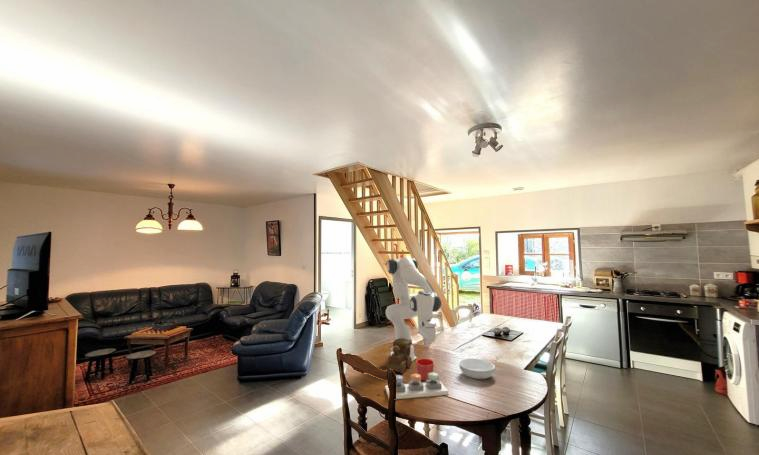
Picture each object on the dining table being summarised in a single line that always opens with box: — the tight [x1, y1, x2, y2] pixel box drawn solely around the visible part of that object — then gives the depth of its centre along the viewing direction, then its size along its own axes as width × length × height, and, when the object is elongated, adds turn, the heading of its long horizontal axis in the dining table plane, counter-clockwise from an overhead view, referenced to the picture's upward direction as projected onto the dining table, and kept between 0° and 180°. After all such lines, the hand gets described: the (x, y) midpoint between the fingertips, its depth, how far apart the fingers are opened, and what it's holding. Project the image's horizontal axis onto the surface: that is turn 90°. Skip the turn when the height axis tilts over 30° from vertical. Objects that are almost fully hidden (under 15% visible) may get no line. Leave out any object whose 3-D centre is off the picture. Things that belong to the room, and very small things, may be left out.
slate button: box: [395, 374, 404, 386], centre depth 165 cm, size 6×6×4 cm
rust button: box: [410, 373, 422, 385], centre depth 166 cm, size 6×6×4 cm
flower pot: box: [415, 358, 435, 382], centre depth 183 cm, size 11×11×10 cm
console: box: [384, 379, 449, 400], centre depth 166 cm, size 12×32×4 cm, turn 98°
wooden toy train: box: [386, 339, 413, 375], centre depth 199 cm, size 20×11×17 cm, turn 152°
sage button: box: [428, 371, 439, 383], centre depth 168 cm, size 6×6×4 cm
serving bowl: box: [458, 358, 496, 380], centre depth 186 cm, size 21×21×7 cm
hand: (426, 345), depth 170 cm, fingers closed
